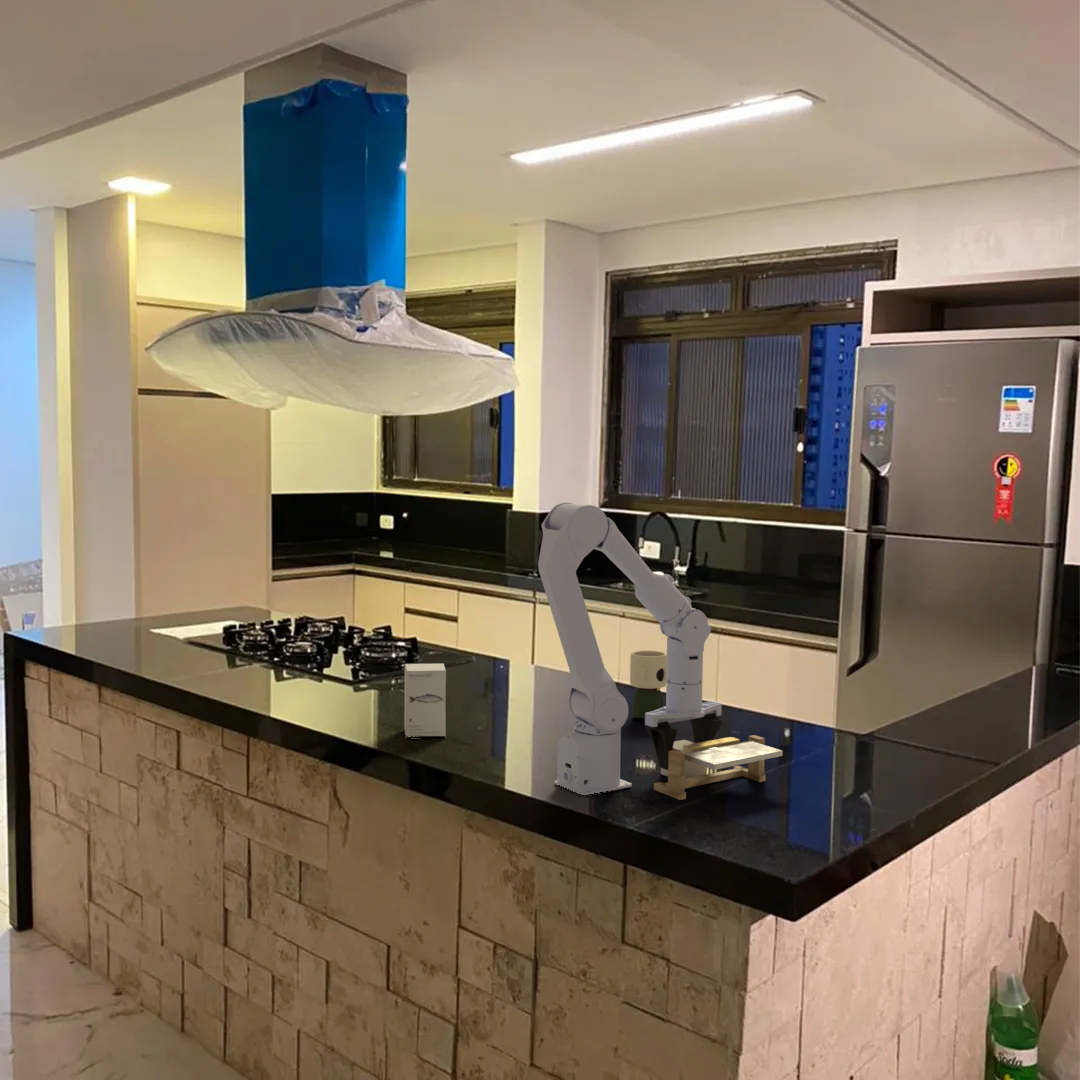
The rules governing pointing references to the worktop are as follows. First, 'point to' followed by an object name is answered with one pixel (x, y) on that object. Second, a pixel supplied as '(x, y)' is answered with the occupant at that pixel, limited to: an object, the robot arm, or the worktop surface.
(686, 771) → the stone block
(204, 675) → the worktop surface
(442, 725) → the supplement box
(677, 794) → the frame
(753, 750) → the trapdoor
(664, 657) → the character mug
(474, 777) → the worktop surface
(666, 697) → the robot arm
